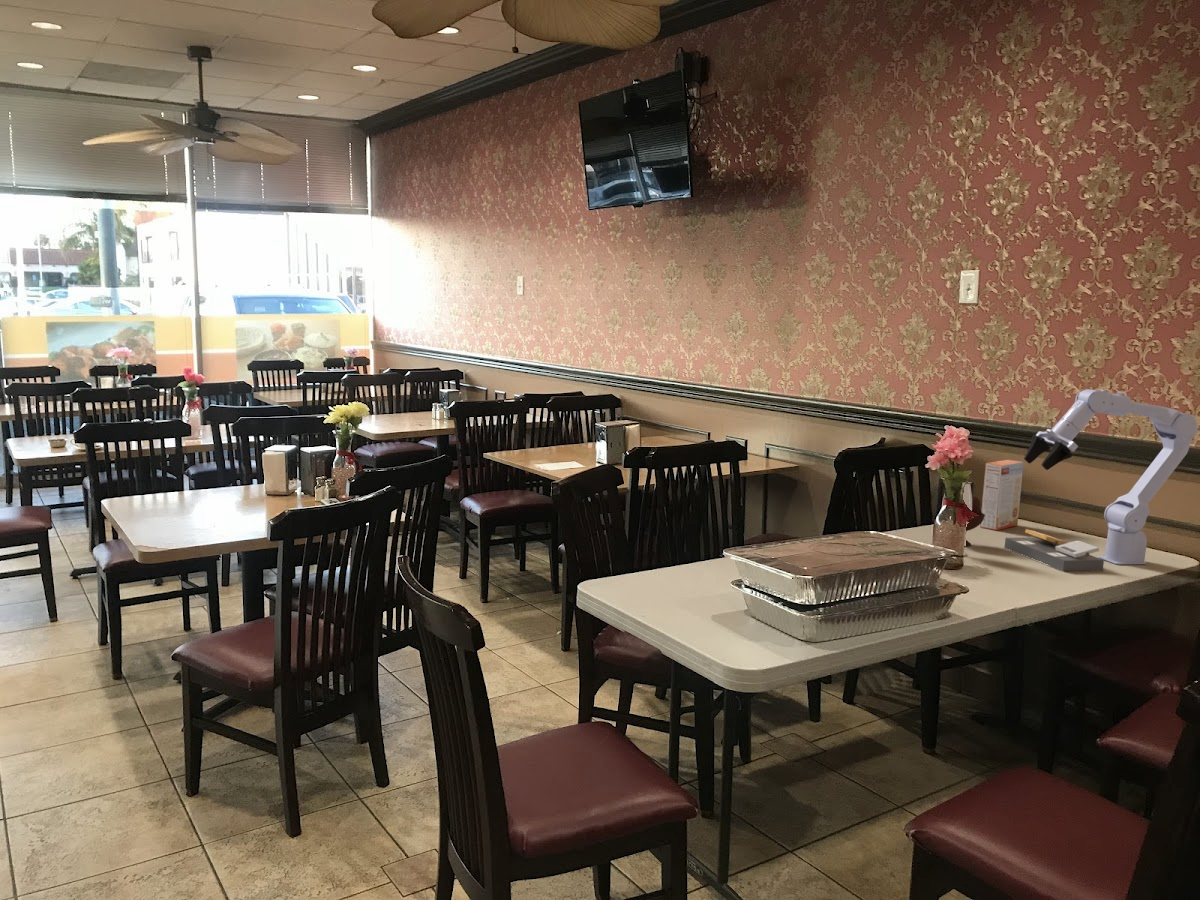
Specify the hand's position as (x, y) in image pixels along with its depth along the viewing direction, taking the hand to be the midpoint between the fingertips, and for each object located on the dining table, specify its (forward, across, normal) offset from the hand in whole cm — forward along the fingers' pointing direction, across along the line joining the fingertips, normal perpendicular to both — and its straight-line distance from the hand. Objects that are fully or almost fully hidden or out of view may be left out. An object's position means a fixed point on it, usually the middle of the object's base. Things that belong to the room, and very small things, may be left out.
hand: (1035, 464), depth 257 cm
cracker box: (+12, -38, +32) cm, 51 cm away
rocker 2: (+10, +8, +22) cm, 26 cm away
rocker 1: (+11, -5, +22) cm, 25 cm away
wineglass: (+32, -5, +3) cm, 33 cm away
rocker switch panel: (+14, +1, +25) cm, 28 cm away
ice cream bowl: (+27, -15, +10) cm, 33 cm away
